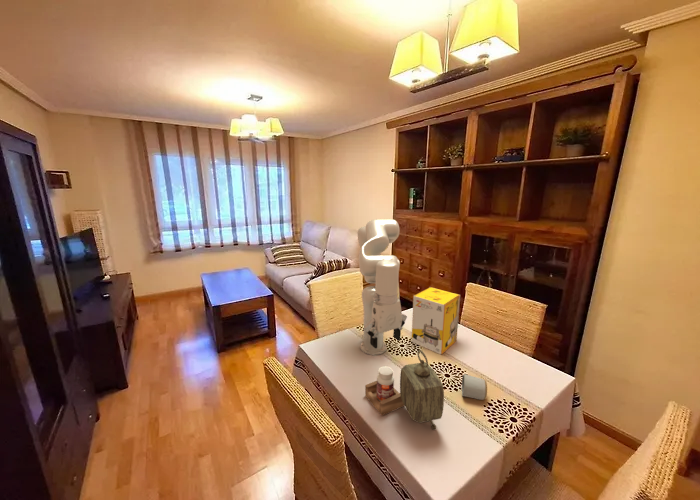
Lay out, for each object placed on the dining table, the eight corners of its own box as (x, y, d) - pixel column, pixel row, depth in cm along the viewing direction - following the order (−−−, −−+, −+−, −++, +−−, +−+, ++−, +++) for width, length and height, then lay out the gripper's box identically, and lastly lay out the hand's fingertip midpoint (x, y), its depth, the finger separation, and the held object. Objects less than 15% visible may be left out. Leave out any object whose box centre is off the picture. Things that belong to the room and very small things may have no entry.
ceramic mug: (486, 405, 101) (488, 386, 100) (462, 400, 104) (464, 382, 102) (482, 385, 111) (484, 368, 110) (460, 382, 113) (461, 365, 112)
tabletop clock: (441, 433, 90) (446, 364, 84) (415, 438, 88) (418, 368, 83) (421, 400, 104) (424, 339, 98) (398, 404, 102) (400, 342, 96)
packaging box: (456, 341, 143) (460, 294, 137) (441, 354, 131) (444, 305, 126) (427, 330, 154) (430, 286, 148) (411, 341, 143) (413, 295, 137)
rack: (365, 395, 106) (365, 384, 105) (387, 386, 111) (387, 376, 110) (381, 416, 97) (382, 404, 96) (404, 405, 102) (405, 394, 100)
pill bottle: (381, 405, 100) (382, 378, 97) (373, 394, 106) (374, 367, 103) (396, 400, 102) (397, 373, 100) (387, 389, 108) (388, 363, 105)
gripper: (370, 306, 88) (370, 355, 92) (413, 296, 96) (411, 341, 100) (358, 298, 94) (358, 344, 98) (400, 288, 102) (398, 331, 106)
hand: (385, 342), depth 99 cm, fingers open, 9 cm apart
